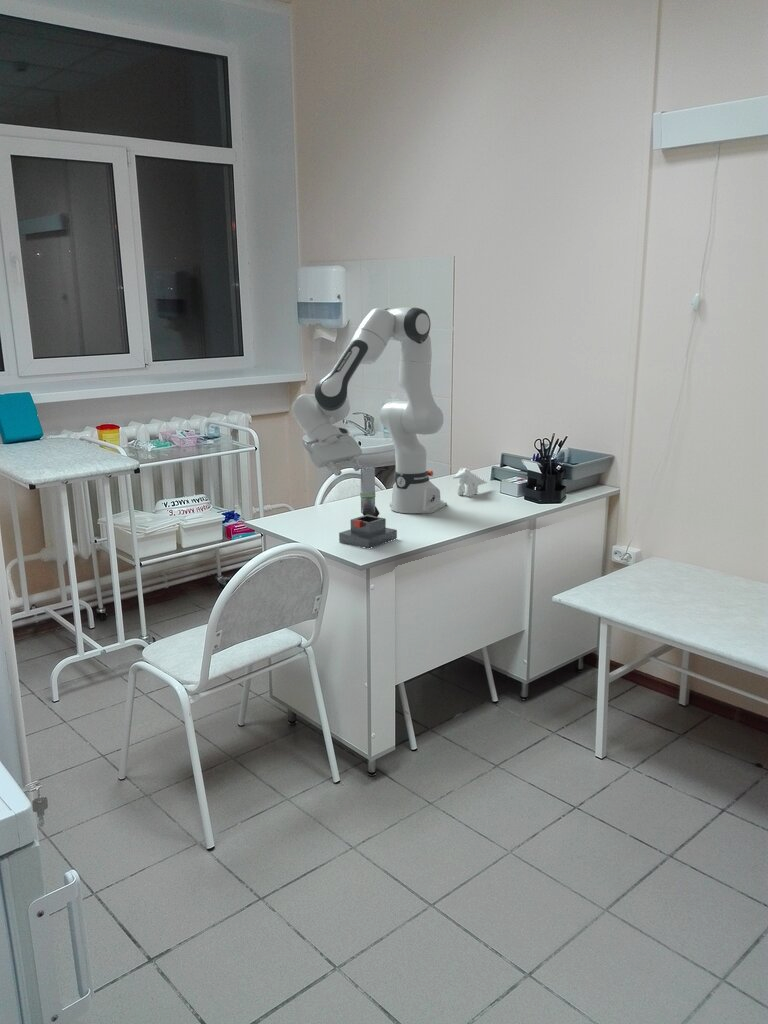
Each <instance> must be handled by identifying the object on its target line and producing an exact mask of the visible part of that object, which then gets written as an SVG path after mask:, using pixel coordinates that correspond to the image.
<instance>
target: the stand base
mask: <svg viewBox="0 0 768 1024" xmlns="http://www.w3.org/2000/svg"><path fill="white" fill-rule="evenodd" d="M386 522H387V521H386V518H385V517H379V516H378V517H375V516H370V515H361V516H358V517H355V518H351V519H350V529H347V530H344V531H341V532H338V540H339V542H338V543H342V544H345V543H346V544H345V545H350V544H351V546H354V545H355V547H358V546H360V548H363V547H365V548H364V549H367V548H370V549H372V548H371V547H373V548H374V546H376V547H378V546H380V544H381V545H384V544H386V543H385V542H387V543H389V542H388V541H390V542H392V541H395V540H397V539H396V538H398V530H397V529H395V528H390V527H386V524H387V523H386ZM394 539H395V540H394ZM391 540H392V541H391ZM383 543H384V544H383ZM377 545H378V546H377Z"/></svg>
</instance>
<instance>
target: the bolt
mask: <svg viewBox="0 0 768 1024" xmlns="http://www.w3.org/2000/svg"><path fill="white" fill-rule="evenodd" d="M364 515H370V516H375V517H379V515H380V511H379V509H378V508H377V506H376V505H375V513H373V514H363V513H362V516H364Z"/></svg>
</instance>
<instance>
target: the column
mask: <svg viewBox="0 0 768 1024" xmlns="http://www.w3.org/2000/svg"><path fill="white" fill-rule="evenodd" d="M359 496H360V513H361V514H362V515H363V514H373V513H375V506H376V468H375V467H372V466H363V467H362V466H361V469H360V495H359Z"/></svg>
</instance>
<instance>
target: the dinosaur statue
mask: <svg viewBox="0 0 768 1024" xmlns="http://www.w3.org/2000/svg"><path fill="white" fill-rule="evenodd" d="M452 478H453V479H458V484H457V487H456V489H457V491H456V492H457V495H458V496H460V495H461V496H464V495H465V496H466V497H467V496H471V497H473V495H474V494H476V495H478V494H477V493H479V491H478V490H479V488H478V487H479V486H481V485H484V484H488V482H487V481H485V479H484V478H481V476H479V475H477V473H475V474H474V473H473V472H471V470H470V469H469V468H466V467H460V469H458V472H457V473H456V474H455V475H454V476H452Z"/></svg>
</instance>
